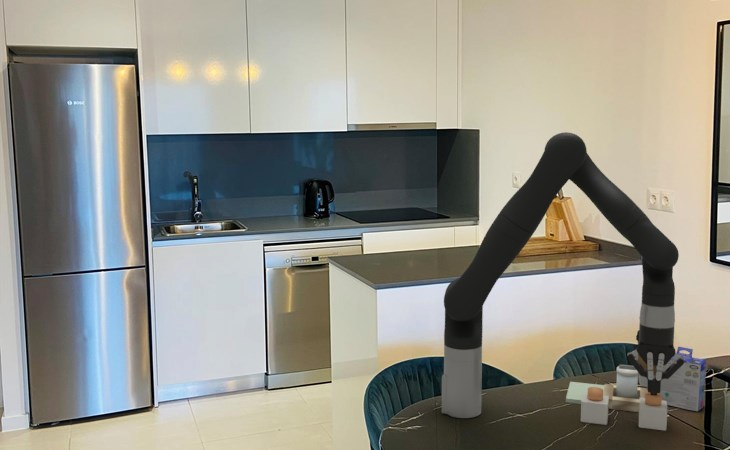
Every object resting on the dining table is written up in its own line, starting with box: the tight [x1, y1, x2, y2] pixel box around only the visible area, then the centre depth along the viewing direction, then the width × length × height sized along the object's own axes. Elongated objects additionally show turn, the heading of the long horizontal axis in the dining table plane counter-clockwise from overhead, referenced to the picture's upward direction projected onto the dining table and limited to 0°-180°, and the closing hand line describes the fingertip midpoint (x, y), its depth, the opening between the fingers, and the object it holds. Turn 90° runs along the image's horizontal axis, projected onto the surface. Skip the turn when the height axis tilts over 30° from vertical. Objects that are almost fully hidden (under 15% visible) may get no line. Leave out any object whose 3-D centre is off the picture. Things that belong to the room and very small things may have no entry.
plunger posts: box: [580, 393, 668, 431], centre depth 176 cm, size 19×7×5 cm, turn 70°
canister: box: [615, 363, 639, 399], centre depth 187 cm, size 5×5×10 cm
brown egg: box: [645, 392, 662, 406], centre depth 174 cm, size 4×4×6 cm
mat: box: [565, 381, 605, 405], centre depth 193 cm, size 9×13×1 cm
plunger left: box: [587, 387, 603, 400], centre depth 177 cm, size 4×4×6 cm
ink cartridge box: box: [660, 346, 707, 412], centre depth 185 cm, size 10×6×14 cm, turn 53°
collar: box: [603, 383, 648, 413], centre depth 187 cm, size 11×11×2 cm
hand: (653, 394), depth 173 cm, fingers closed
